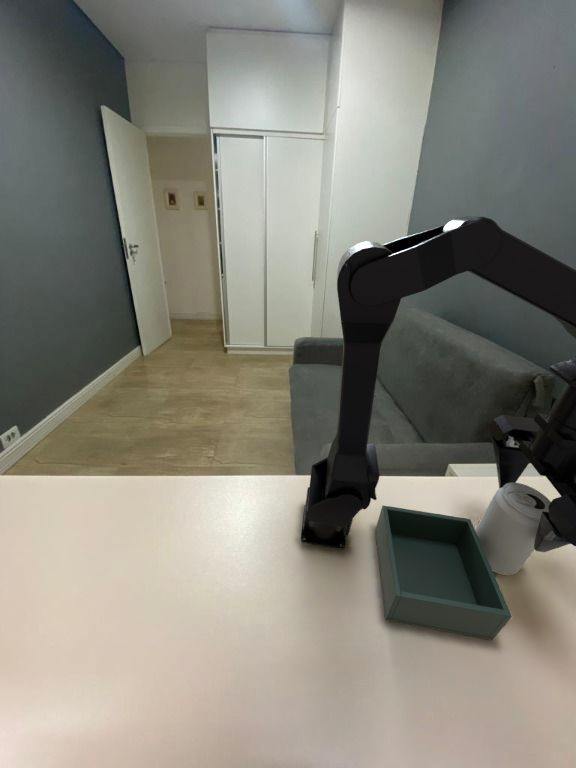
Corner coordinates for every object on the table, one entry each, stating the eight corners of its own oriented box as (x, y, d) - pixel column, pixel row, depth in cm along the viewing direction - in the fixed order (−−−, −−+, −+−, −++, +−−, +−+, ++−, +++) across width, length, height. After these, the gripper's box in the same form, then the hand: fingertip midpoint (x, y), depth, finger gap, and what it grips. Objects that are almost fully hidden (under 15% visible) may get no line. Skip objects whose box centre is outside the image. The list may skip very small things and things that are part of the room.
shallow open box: (385, 619, 37) (395, 595, 34) (375, 529, 47) (382, 505, 45) (492, 640, 36) (512, 616, 33) (457, 542, 46) (470, 518, 43)
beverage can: (526, 583, 41) (572, 526, 36) (475, 572, 42) (511, 514, 37) (506, 540, 47) (543, 485, 41) (462, 531, 48) (492, 475, 42)
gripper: (775, 505, 24) (648, 607, 32) (600, 388, 40) (543, 474, 48) (620, 483, 25) (533, 587, 33) (510, 377, 41) (469, 463, 49)
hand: (519, 517), depth 41 cm, fingers open, 9 cm apart
